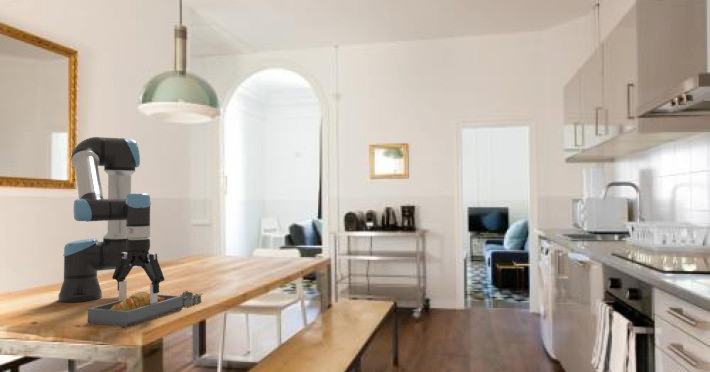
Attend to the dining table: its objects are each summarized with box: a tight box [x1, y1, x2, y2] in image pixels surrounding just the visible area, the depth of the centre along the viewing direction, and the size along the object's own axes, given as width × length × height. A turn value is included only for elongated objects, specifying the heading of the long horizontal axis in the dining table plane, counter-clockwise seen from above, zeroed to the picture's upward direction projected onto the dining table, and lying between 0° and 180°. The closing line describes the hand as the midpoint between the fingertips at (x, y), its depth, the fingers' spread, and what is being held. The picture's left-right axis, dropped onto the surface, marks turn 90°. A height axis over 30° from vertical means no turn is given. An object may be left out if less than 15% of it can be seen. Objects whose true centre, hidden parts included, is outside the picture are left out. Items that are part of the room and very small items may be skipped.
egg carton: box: [179, 290, 203, 307], centre depth 187 cm, size 11×8×4 cm
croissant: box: [108, 291, 166, 311], centre depth 167 cm, size 21×10×8 cm, turn 145°
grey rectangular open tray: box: [87, 293, 183, 327], centre depth 167 cm, size 16×26×4 cm, turn 161°
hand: (138, 301), depth 167 cm, fingers open, 12 cm apart
